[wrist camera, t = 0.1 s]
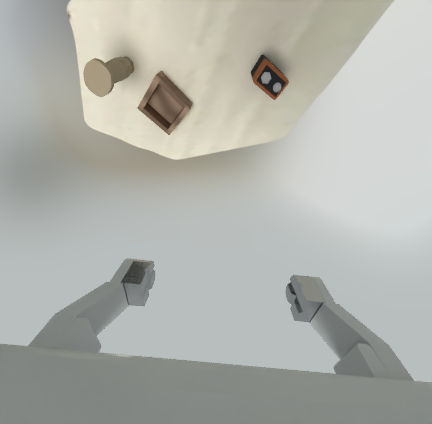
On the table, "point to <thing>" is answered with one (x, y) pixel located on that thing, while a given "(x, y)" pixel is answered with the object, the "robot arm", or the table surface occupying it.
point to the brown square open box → (164, 103)
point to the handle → (106, 74)
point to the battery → (268, 77)
